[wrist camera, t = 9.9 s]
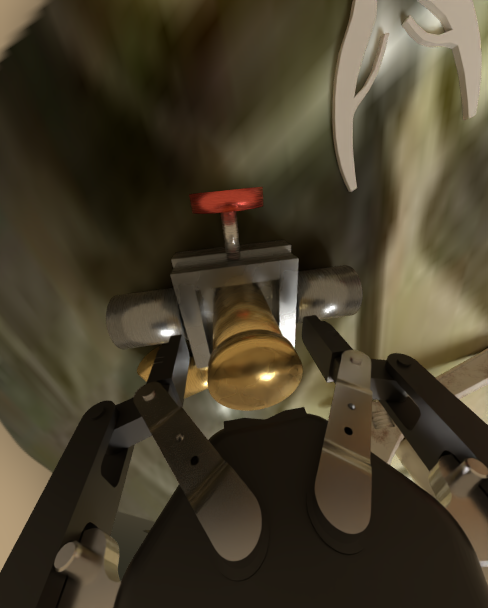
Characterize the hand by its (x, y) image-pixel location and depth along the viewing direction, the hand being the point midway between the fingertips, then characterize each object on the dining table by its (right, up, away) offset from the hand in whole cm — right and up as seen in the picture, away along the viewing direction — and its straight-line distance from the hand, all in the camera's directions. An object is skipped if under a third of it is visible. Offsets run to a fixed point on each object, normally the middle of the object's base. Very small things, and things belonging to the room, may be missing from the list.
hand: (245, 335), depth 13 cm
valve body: (-1, +5, +4) cm, 7 cm away
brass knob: (0, +2, +4) cm, 4 cm away
